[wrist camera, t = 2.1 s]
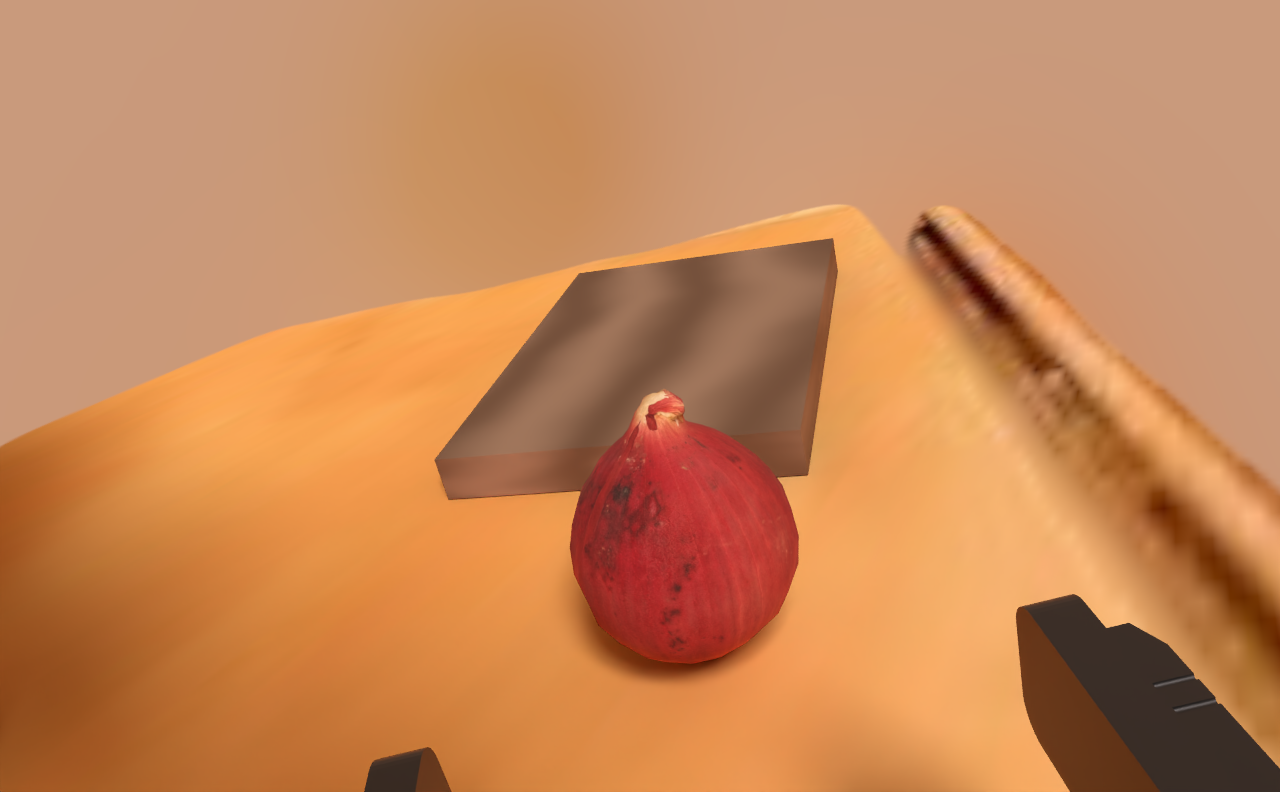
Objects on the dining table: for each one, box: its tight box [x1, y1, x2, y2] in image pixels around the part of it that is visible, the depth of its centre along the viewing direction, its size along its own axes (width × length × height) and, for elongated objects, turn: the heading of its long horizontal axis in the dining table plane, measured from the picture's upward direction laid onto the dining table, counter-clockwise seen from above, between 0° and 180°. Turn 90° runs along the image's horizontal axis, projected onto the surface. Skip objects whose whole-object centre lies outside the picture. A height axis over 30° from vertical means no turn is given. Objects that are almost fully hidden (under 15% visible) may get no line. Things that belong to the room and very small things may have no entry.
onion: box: [570, 389, 799, 664], centre depth 25 cm, size 6×6×8 cm
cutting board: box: [435, 238, 838, 499], centre depth 45 cm, size 14×20×2 cm
